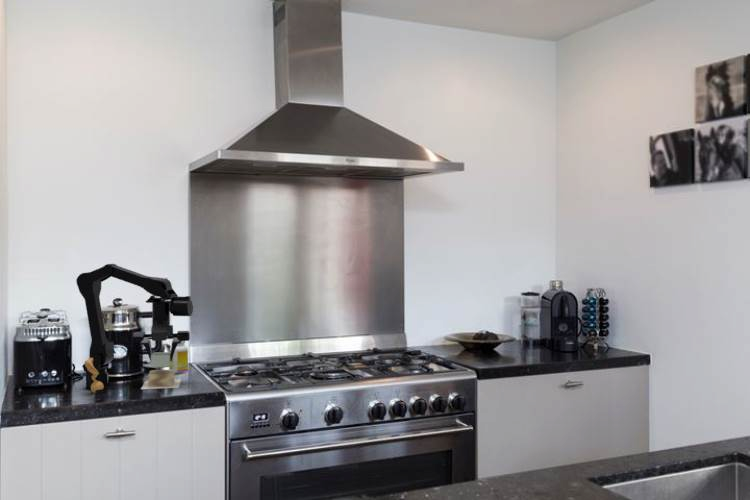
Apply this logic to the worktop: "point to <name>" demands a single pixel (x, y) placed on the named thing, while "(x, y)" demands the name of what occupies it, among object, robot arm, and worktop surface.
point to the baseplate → (175, 385)
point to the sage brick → (160, 359)
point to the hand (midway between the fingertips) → (161, 361)
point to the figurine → (97, 384)
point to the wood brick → (161, 378)
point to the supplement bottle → (180, 358)
